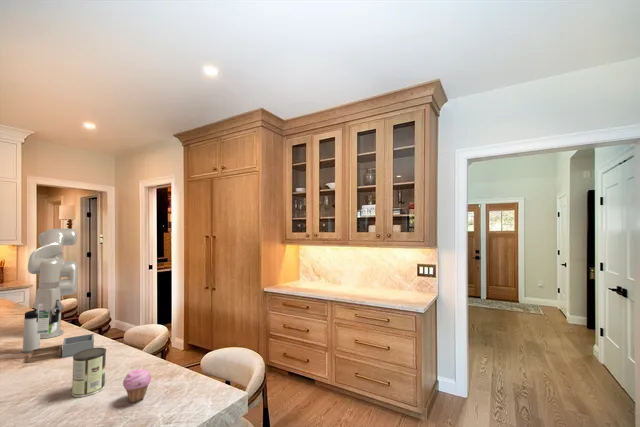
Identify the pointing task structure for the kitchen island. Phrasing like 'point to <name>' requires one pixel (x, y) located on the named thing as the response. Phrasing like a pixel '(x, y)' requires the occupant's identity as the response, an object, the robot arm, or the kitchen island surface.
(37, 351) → the socket collar
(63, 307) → the robot arm
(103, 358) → the coffee can
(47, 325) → the syrup box
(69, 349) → the bin
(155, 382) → the kitchen island surface
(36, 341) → the travel mug
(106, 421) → the kitchen island surface
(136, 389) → the cupcake
